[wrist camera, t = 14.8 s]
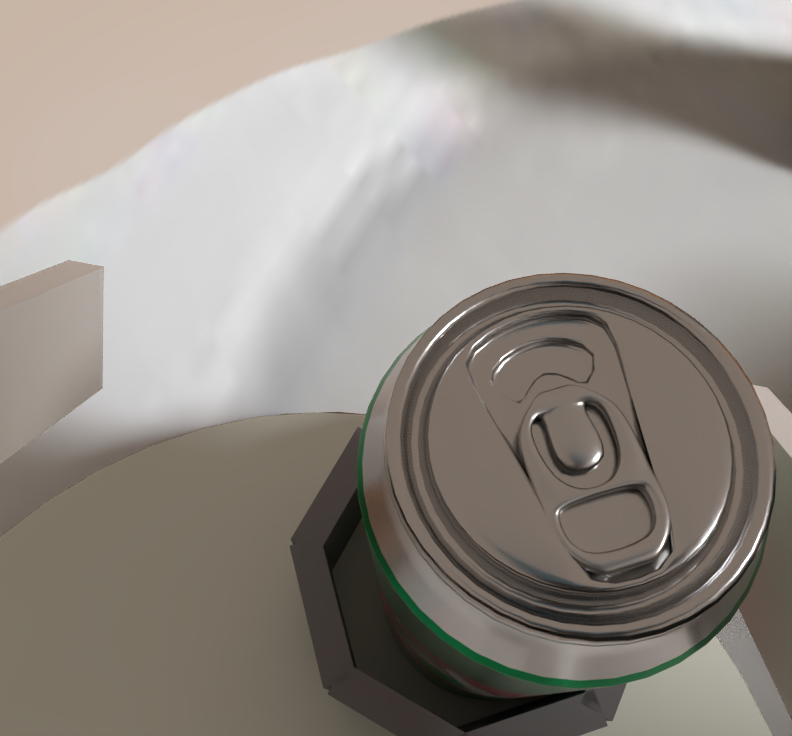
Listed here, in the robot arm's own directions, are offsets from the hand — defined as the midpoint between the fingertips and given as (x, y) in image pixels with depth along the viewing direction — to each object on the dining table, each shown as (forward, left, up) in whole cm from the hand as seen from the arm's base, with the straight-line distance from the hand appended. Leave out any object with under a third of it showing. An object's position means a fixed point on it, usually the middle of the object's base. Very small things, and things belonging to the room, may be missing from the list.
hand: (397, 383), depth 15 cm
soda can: (0, +4, -6) cm, 7 cm away
